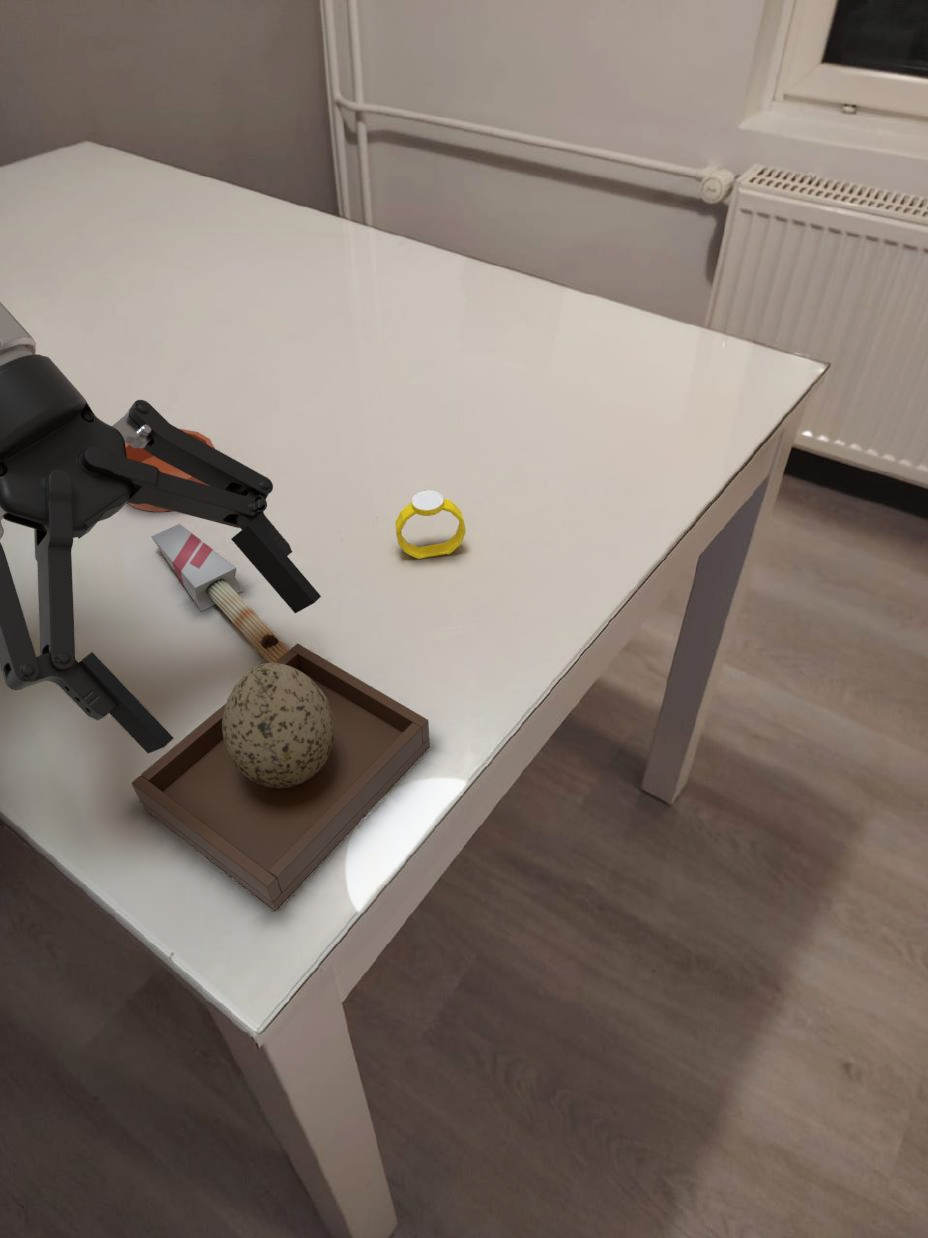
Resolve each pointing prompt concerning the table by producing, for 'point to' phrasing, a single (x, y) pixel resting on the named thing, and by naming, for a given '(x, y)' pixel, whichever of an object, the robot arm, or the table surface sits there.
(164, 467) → the shallow dish
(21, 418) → the robot arm
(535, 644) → the table surface
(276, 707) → the decorative egg
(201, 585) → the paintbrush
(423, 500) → the watch
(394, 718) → the tray
